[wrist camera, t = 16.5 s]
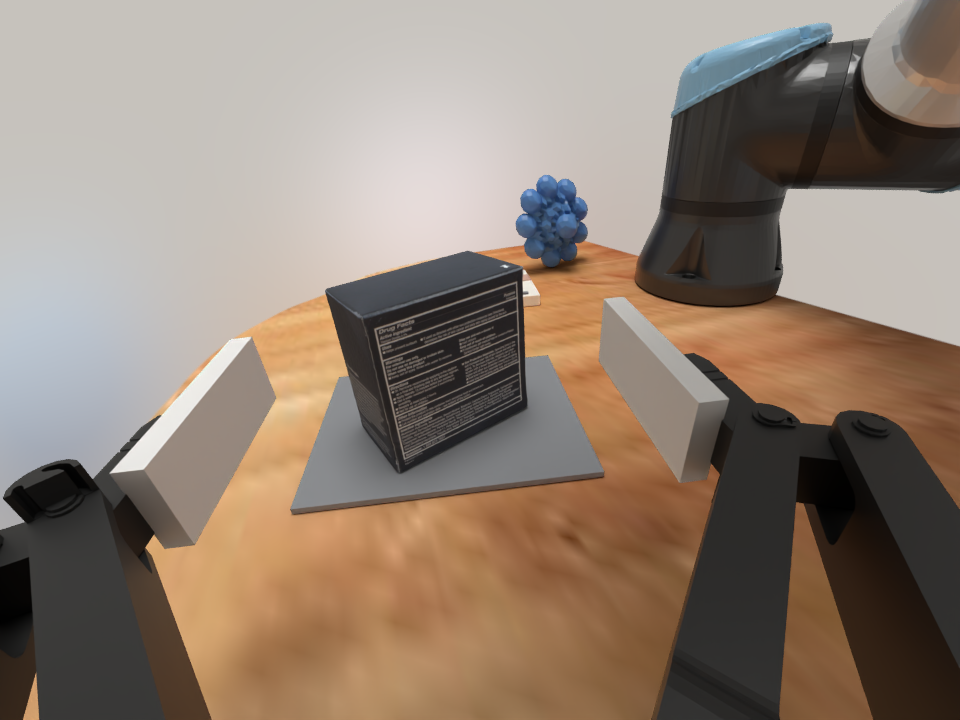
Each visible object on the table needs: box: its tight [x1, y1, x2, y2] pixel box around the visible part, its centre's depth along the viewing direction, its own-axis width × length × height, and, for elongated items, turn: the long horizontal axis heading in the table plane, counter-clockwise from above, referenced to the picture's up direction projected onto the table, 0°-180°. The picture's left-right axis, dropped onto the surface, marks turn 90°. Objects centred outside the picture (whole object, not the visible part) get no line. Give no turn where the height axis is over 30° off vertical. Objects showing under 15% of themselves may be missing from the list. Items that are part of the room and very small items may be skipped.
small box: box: [325, 251, 528, 472], centre depth 27 cm, size 11×6×10 cm, turn 125°
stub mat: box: [290, 355, 604, 514], centre depth 30 cm, size 18×14×1 cm
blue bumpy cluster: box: [516, 175, 588, 267], centre depth 55 cm, size 12×7×12 cm, turn 120°
